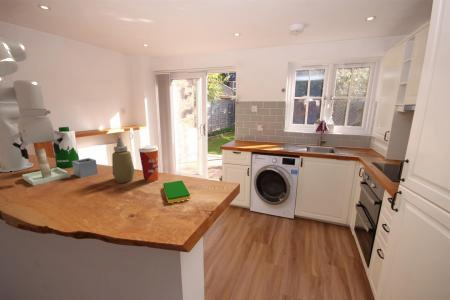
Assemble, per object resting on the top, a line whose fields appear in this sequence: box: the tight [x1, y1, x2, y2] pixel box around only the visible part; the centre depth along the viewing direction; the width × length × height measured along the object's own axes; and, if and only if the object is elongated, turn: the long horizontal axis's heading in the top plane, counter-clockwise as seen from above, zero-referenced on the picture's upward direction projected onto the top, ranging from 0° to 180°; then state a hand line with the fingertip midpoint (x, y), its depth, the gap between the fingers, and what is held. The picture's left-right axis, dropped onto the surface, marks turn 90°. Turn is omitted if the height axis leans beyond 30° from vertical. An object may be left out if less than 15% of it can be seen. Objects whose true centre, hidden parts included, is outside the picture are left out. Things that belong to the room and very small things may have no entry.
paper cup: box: [138, 144, 159, 183], centre depth 83 cm, size 8×8×14 cm
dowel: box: [34, 147, 52, 178], centre depth 83 cm, size 3×3×12 cm
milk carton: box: [51, 126, 80, 169], centre depth 99 cm, size 9×9×20 cm
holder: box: [72, 157, 99, 179], centre depth 88 cm, size 7×7×7 cm
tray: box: [21, 166, 72, 187], centre depth 84 cm, size 14×12×3 cm
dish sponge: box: [162, 180, 191, 204], centre depth 70 cm, size 7×14×2 cm, turn 22°
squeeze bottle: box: [111, 137, 135, 184], centre depth 81 cm, size 8×8×18 cm
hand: (42, 155), depth 82 cm, fingers open, 9 cm apart
